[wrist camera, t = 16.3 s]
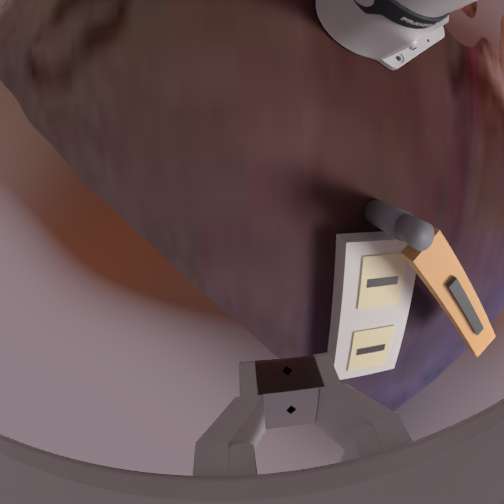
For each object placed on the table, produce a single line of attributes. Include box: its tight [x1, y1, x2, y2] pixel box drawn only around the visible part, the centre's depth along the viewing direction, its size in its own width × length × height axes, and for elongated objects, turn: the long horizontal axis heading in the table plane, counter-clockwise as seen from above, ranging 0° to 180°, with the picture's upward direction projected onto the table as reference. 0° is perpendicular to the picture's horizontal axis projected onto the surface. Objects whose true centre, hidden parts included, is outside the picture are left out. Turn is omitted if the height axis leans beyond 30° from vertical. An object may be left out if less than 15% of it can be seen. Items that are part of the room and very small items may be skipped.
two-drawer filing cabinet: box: [327, 199, 416, 380], centre depth 40 cm, size 29×12×8 cm, turn 3°
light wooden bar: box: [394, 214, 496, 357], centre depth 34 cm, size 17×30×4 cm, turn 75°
